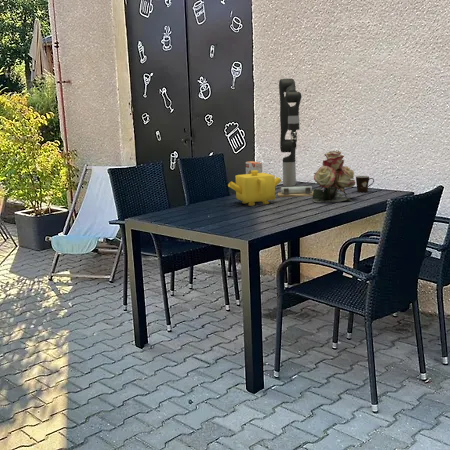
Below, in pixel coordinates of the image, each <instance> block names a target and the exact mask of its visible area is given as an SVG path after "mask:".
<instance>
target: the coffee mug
mask: <svg viewBox="0 0 450 450" xmlns="http://www.w3.org/2000/svg"><path fill="white" fill-rule="evenodd" d="M371 179H372V182H371V183H370V184H369V181H370V180H371ZM355 182H356V183H355V185H356V191H357V192H356V193H360V192H361V193H362V194H363V192H365V193H368V189H369V187H371V186H372V185H373V184H374V182H375V179H374V178H373V177H370V176H368V175H356V176H355Z"/></svg>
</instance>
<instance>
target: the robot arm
mask: <svg viewBox="0 0 450 450" xmlns="http://www.w3.org/2000/svg"><path fill="white" fill-rule="evenodd" d="M278 91H279V94H278V95H279V107H280V108H279V120H280V121H279V124H280V125H279V126H280V136H279V137H280V138H279V141H280V142H279V145H280V146H279V147H280V152H281V153H290V154H289V155H287V156H285V157H282V185H283V186H282V187H297V183H296V182H297V181H296V180H297V176H296V175H297V173H296V171H297V168H296V166H297V165H296V149H297V142H298V132H297V131H299V130H300V116H299V115H300V104H301V101H302V93H301V92H300V91H297V88H296V81H295V80H294V78H280V79H279V80H278ZM291 103H295V104H294V105H292V106H291V105H290V104H291ZM288 131H290V139H289V138H287V139H286V136H287V133H288Z"/></svg>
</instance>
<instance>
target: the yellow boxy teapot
mask: <svg viewBox="0 0 450 450" xmlns="http://www.w3.org/2000/svg"><path fill="white" fill-rule="evenodd" d="M251 173H252V174H246V173H243V174H237V175H235V182H233V181H230V182H229V183H228V184H227V186H228V188H230V189H232V190H234V191H235V193H236V194H235V195H236V196H235V198H236V200H238V201H241V203H242V204H248V205H247V206H255V204H256V203H257V202H258V203H262V205H269V204H270V202H269V201H273V200H276V187H277V185H279V184H280V183H281V182H282V179H281V178H279V176H277V177H275V176H276V175H273V174H271V173H267V172H262V173H258V171H257V170H253V171H251Z"/></svg>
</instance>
